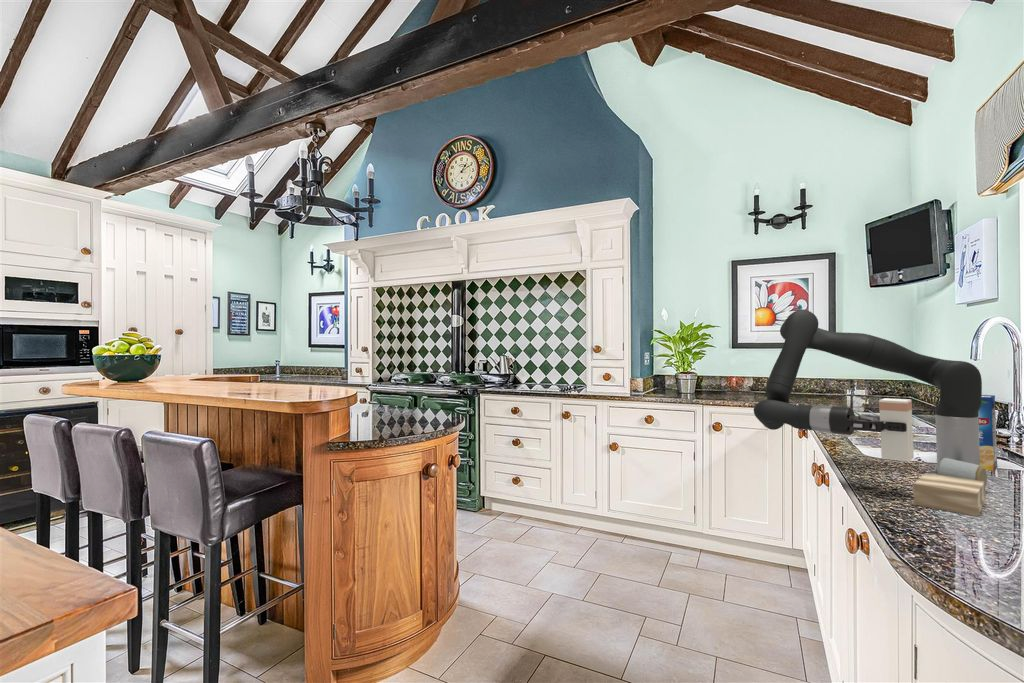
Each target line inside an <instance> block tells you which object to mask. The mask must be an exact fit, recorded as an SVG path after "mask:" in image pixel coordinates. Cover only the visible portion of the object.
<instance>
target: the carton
mask: <svg viewBox="0 0 1024 683" xmlns="http://www.w3.org/2000/svg"><path fill="white" fill-rule="evenodd" d="M878 409H879V410H878V411H879V416H880V421H887V422H900V423H906V426H907V431H905V432H899V431H888V429H887V431H882V432H880V452H881V459H883V460H892V461H898V462H899V461H900V462H907V463H909V462H910V461H912V460H914V458H915V457H914V456H915V455H914V451H915V450H914V430H913V427H914V426H913V403H912V398H911V399H910V398H909V399H907V398H885V397H884V398H881V399H879V401H878Z"/></svg>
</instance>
